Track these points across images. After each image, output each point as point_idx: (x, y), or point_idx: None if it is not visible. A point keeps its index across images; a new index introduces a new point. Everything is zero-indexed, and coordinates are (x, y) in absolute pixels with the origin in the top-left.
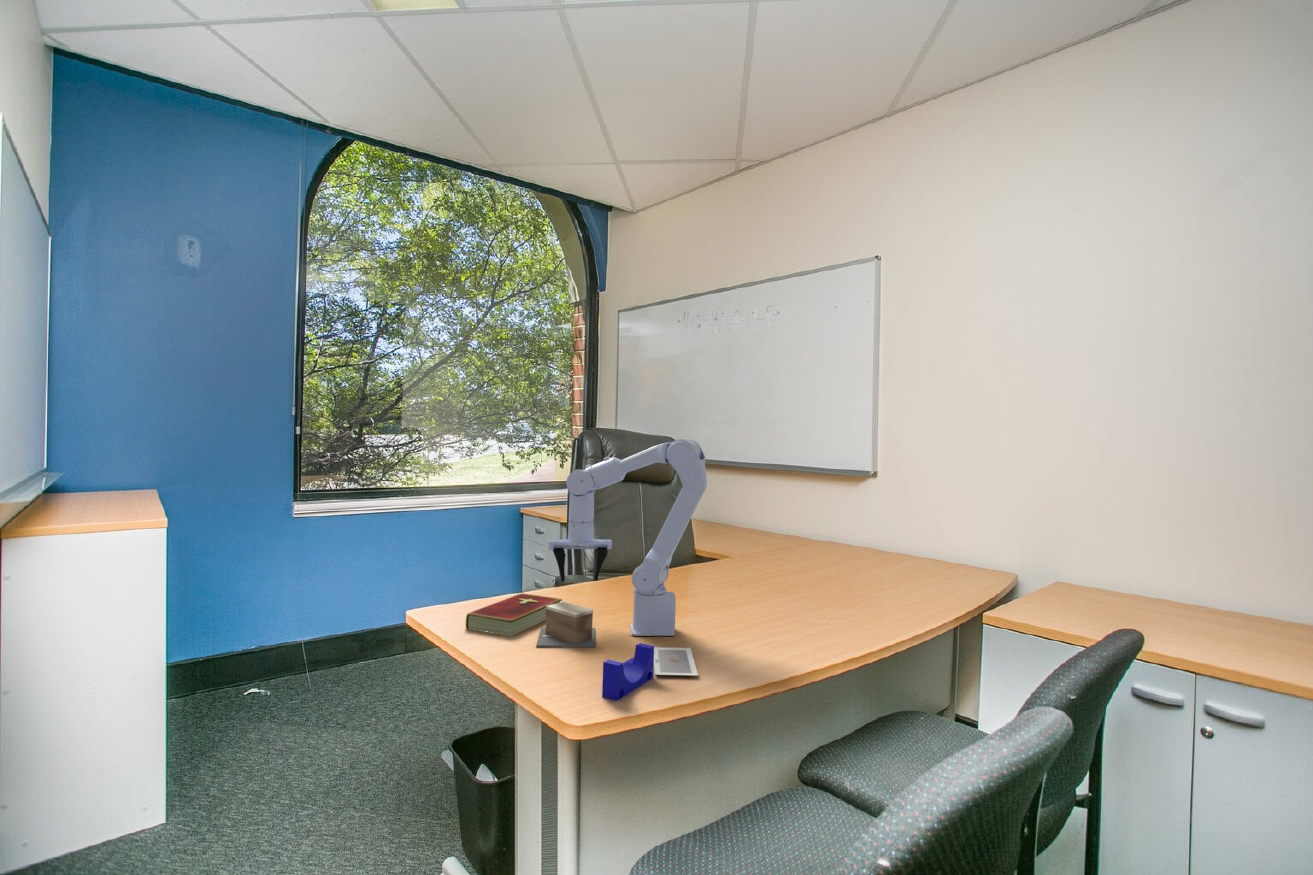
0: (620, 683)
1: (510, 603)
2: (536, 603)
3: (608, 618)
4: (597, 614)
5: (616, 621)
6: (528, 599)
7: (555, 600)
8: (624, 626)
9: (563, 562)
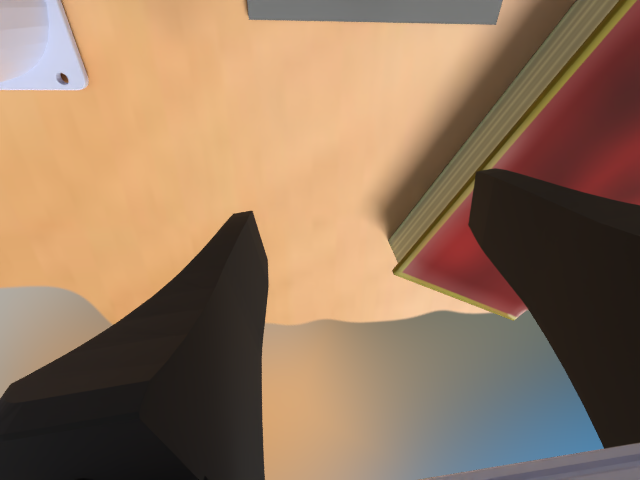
0: None
1: None
2: None
3: (211, 191)
4: None
5: (171, 154)
6: None
7: (420, 254)
8: (117, 78)
9: (629, 225)
